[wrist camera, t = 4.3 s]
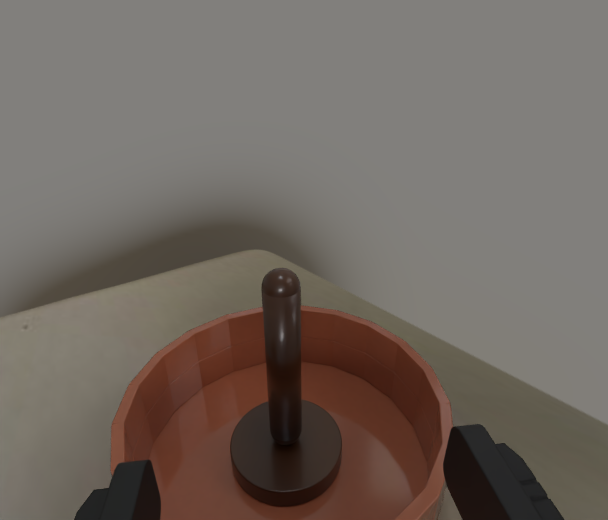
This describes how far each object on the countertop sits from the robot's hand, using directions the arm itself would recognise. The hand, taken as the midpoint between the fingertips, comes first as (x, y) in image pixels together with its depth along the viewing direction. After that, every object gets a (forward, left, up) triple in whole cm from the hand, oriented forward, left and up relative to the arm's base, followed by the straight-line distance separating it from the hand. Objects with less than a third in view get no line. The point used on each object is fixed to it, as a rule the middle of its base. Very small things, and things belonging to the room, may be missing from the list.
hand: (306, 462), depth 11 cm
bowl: (-2, -9, -12) cm, 15 cm away
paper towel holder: (-2, -9, -11) cm, 14 cm away
